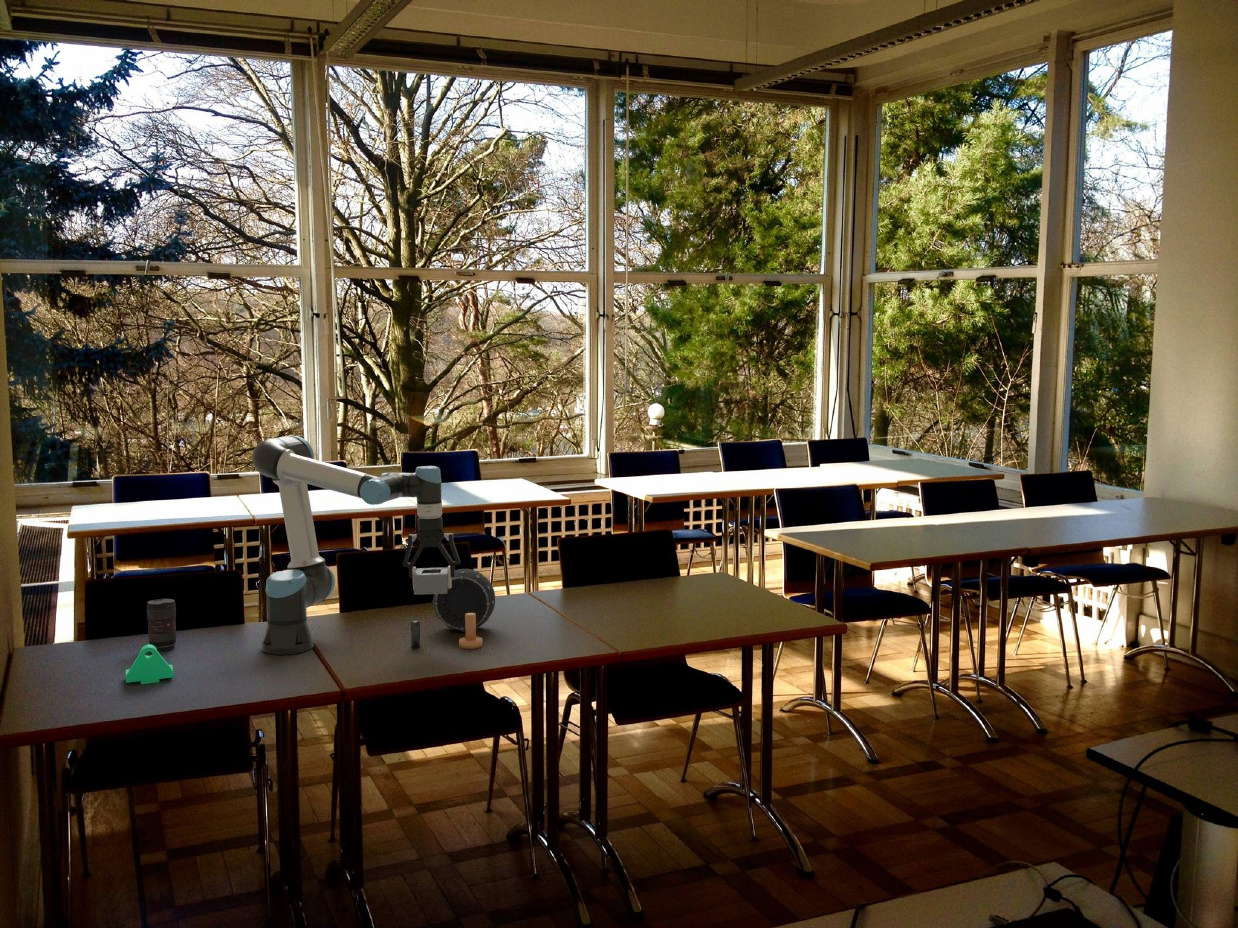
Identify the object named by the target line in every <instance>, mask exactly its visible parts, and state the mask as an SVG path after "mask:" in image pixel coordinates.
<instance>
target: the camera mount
mask: <svg viewBox="0 0 1238 928" xmlns="http://www.w3.org/2000/svg"><path fill="white" fill-rule="evenodd" d="M147 652H151V653H152V654H150V655H147V654H146V653H147ZM169 678H174V668H173V664H169V663H168V662H167V661H166V660H165V658H164V657H162V655H161V654H160V652H158V651H157V649H156V647H155V646H153V645H150V644H149V643H148V644H145V645H143V646H142V647H141V648H140V651H139V653H138V655H137V657H136V658H135V660H134V662H133V663H132V665H131V666H130V668H128V669H126V670H125V683H126V684H127V683H128V684H129V683H136V682H140V685H147V684H152V683H153V684H155V683H160V679H169Z"/></svg>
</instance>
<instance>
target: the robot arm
mask: <svg viewBox="0 0 1238 928" xmlns="http://www.w3.org/2000/svg"><path fill="white" fill-rule="evenodd" d="M314 458H315V454H314V451H313V447H312V445H311V444H310V442H308V440H306V439H305V438H303V437H301V436H297V435H285V436H280V437H274V438H273V437H272V438H267V439H264V440H262V441H260V442H258V443H257V445H256V446H255V448H254V449H253V452H252V456H251V459H252V465H253V467H254V469H255V470H256V471H257V472H258V473H259V474H261V475H263V476H265V477H267V478H271V480H272V482H273V483H274V484H275V485H277V486H278V489H279V497H280V501H281V507H282V513H283V519H284V520H283V521H284V524H285V525H284V526H285V531H286V532H285V533H286V536H287V543H288V548H289V553H290V562H288V565H287V569H284V570H282V571H280V570H279V571H276V572H273V573H272V574H270V575H269V576H268V577H267V579H266V580H265V581H266V582H265V583H266V585H265V594H266V595H265V596H266V622H267V623H266V624H267V625H266V629H265V632H264V635H263V638H262V642H261V649H262V652H263V653H265V654H270V655H277V656H285V655H295V654H296V655H297V654H301V653H305V652H307V651H309V650H312V649H313V648H314V638H313V635H312V633H311V629H310V626H309V624H308V618H307V617H308V616H307V614H308V612H307V608H309V607H312V606H314V605H316V604H319V603H322V602H323V601H324V600H326V599H327V598H329V597H330V596H331V595H332V593H333V592H334V588H335V586H336V579H335V575H334V572H333V571H332V570H331V569H330V567H328V566H327V565H326V559H325V558H323V556H320V553H319V549H318V543H317V536H316V529H315V524H314V518H313V512H312V507H311V500H310V494H309V489H308V485H312V486H314V487H318V488H321V489H325V490H329V491H332V492H336V493H340V494H344V495H348V496H351V497H355V498H358V499H361V500H362V501H363V502H365V503H366V504H368V505H370V506H377V505H382V504H384V503H386V502H389V501H392V500H396V499H399V498H416V511H417V513H416V514H417V516H418V518H417V532H416V534H412V533H409V534H408V536H407V547H406V550H405V554H404V558H403V561H402V567H406V568H408V577H409V579H412V588H413V591H414V579H413V575H414V573H415V572H416V570H417V567H416V566H414V565H415V564H416V561H417V560H418V558H419V556H420V554H422V553H421V552H422V551H423V549H424V548H436V547H437V549H438V550H439V551H440V553H441V554H442V556H443V557H444V559H445V560H446V562H447V563H448V566H447V568H448V588H451V587H452V583H451V577H454V575H455V570H456V569H455V568H456V566H459V565H460V564H461V559H460V556H459V554H458V549H457V547H456V545H455V541H454V533H453V532H450V533H445V532H444V528H443V527H444V525H443V517H442V515H443V503H442V502H443V501H442V476H441V475H442V473H441V468H440V467H438V466H435V465H425V466H423V465H421V466H417V467H416V468H415V472H395V471H391V472H383V473H381V474H380V475H379V476H376V475H372V474H369V473H365V472H361V471H357V470H355V469H350V468H348V467H347V468H346V467H343V466H338V465H335V464H332V463H327V462H323V461H320V460H317V459H314ZM444 538H445V539H446V541H448V544H449V547H450V550H451V554H452V556H453V558H452V557H451V555H450V554H449V552H448V550H447V549H446V548H445V545H444V544H443V542H442V541H443V540H444ZM416 539H417V540H418V541H419V543H420V544H419V546H418V548H417V550H416V552H415V554H414V555H413V557H412V559H411V561H410V562H409V558H410V556H411V551H412V548H413V545H414V542H415V541H416ZM453 559H454V560H453Z"/></svg>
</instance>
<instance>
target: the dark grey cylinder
mask: <svg viewBox="0 0 1238 928" xmlns="http://www.w3.org/2000/svg"><path fill="white" fill-rule="evenodd" d="M176 606H177V605H176V601H175V600H174V599H171V598H159V599H158V598H157V599H152V600H149V601H147V604H146V616H147V629H148V631H147V634H148V635H147V638H148V639H147V640H148V645H149V644H150V645H153V646H155V647H156V649H157V651H158V652H159V653H163V652H168V651H171V650H174V649H175V648H176V647H175V646H176V645H175V644H176V643H177V629H176V628H177V627H176V626H177V624H176V615H177V609H176Z"/></svg>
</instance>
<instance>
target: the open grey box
mask: <svg viewBox="0 0 1238 928" xmlns="http://www.w3.org/2000/svg"><path fill="white" fill-rule="evenodd" d="M413 579H414V590H413V595H434V594H447V593H448V591H449V588H448V567H428V568H427V567H422V568H417V567H416V572H415V573H414V575H413V578H412V580H413Z"/></svg>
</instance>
